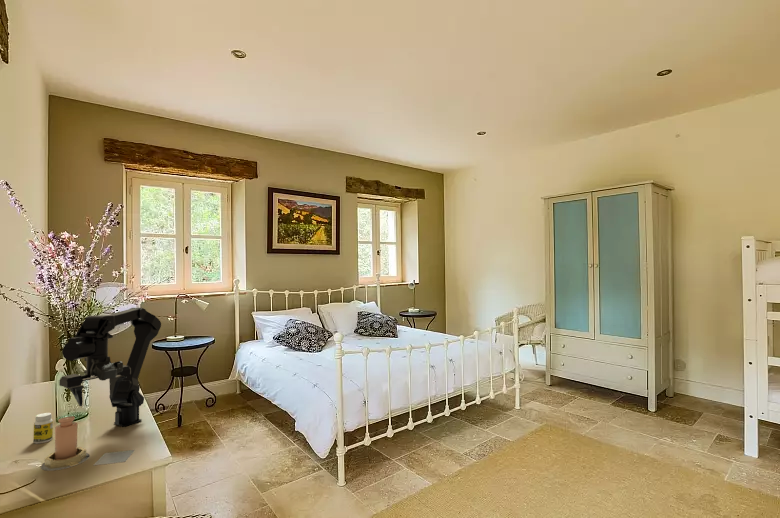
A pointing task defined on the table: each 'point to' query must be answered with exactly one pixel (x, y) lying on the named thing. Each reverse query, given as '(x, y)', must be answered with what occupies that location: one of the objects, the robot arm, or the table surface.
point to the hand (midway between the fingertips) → (96, 402)
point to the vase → (66, 438)
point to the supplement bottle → (43, 428)
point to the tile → (114, 457)
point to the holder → (65, 460)
